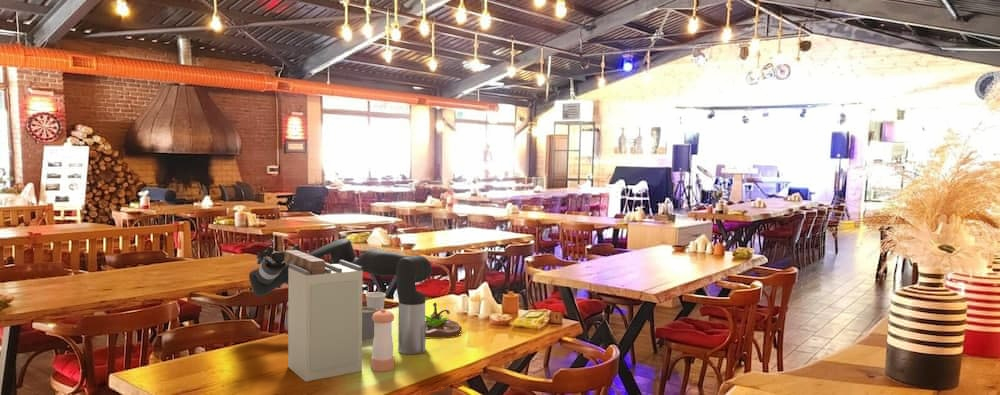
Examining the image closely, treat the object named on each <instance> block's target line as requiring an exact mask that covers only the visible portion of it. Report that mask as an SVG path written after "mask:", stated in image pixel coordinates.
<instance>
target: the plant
mask: <svg viewBox="0 0 1000 395" xmlns="http://www.w3.org/2000/svg"><path fill="white" fill-rule="evenodd" d="M432 305H433V313H432V314H430V315H429V316H428V315H425V322H426V337H435V338H452V337H451V336H454V337H457V336H460V335H461V332H460V331H462V330H463V329H462V325H460V324H459V323H458V322H457V321H455V320H451V319H449V318H450V317H449V316H445V317H443V313H444V312H445V313H446V314H447V315H450V314H451V312H450V311H451V310H448V309H443V310H441V311H440V312H438V311H437V309H438V308H437V302H434V303H433V304H432ZM459 334H460V335H459ZM456 335H457V336H456Z"/></svg>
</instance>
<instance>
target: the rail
mask: <svg viewBox="0 0 1000 395" xmlns="http://www.w3.org/2000/svg"><path fill="white" fill-rule="evenodd" d="M288 250H289V251H286V250H283V251H284V263H286V264H288V265H289V264H294V265H296V266H299V267H301V268H303V269H306V270H308V271H310V274H311V275H318V274H325V262H326V261H325V260H324V259H322V258H320V259H319V258H316V257H314V256H311V255H308V254H309V253H305V252H302V251H301V252H300V251H298V250H291V249H288Z"/></svg>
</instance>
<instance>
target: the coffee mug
mask: <svg viewBox="0 0 1000 395" xmlns="http://www.w3.org/2000/svg"><path fill="white" fill-rule="evenodd" d="M377 311H378V309H377V308H375V307H367V306H362V340H370V339H374V323H375V322H373V320H372V316H373V314H374V313H375V312H377Z"/></svg>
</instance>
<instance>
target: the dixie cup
mask: <svg viewBox="0 0 1000 395" xmlns="http://www.w3.org/2000/svg"><path fill="white" fill-rule="evenodd" d="M386 296H387V295H386V293H385V292H378V291H375V292H368V293H366V294H365V298H366V307H375V308H377V309H378V311H381V309H385V308H384V306H385V300H386Z"/></svg>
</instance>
